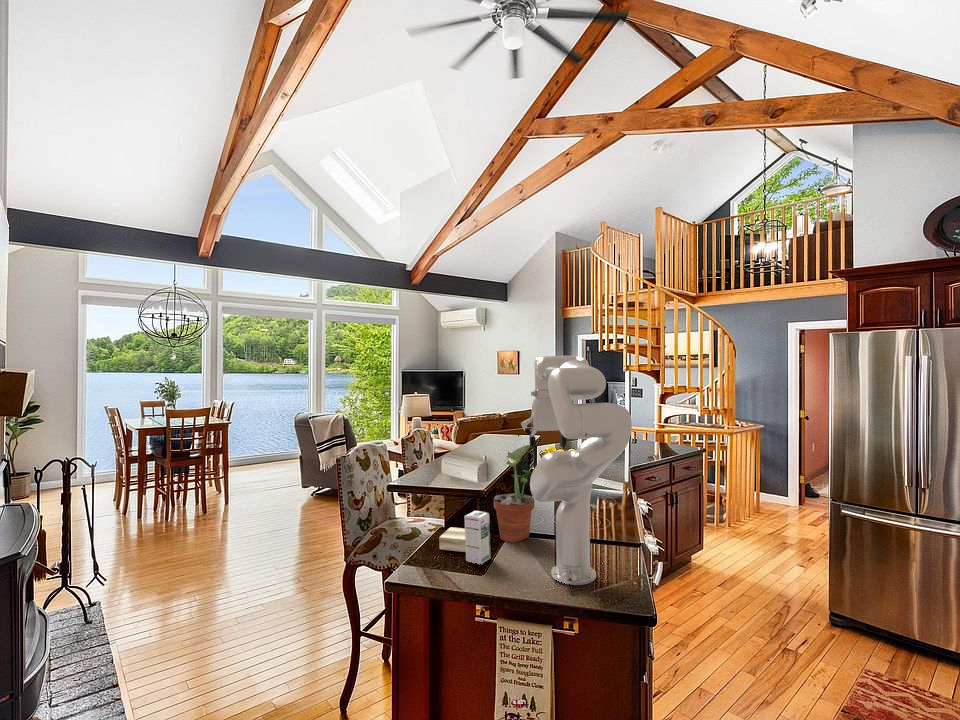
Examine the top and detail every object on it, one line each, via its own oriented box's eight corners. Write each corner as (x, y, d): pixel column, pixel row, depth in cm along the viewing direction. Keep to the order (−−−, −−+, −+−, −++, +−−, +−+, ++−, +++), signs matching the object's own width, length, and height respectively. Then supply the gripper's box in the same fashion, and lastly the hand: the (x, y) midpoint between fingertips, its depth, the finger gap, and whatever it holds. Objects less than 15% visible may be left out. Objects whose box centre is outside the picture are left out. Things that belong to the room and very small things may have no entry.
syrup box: (481, 565, 158) (480, 517, 158) (465, 561, 161) (464, 514, 161) (491, 558, 163) (490, 512, 163) (475, 555, 166) (474, 509, 166)
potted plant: (545, 534, 182) (543, 435, 182) (518, 547, 171) (516, 441, 171) (511, 525, 193) (509, 431, 192) (483, 536, 182) (481, 437, 181)
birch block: (468, 552, 168) (467, 540, 168) (439, 549, 172) (439, 537, 171) (477, 541, 178) (477, 529, 178) (450, 538, 181) (450, 527, 181)
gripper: (523, 396, 163) (524, 451, 163) (576, 394, 165) (577, 448, 166) (518, 394, 170) (519, 447, 171) (569, 393, 173) (570, 444, 173)
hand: (548, 447), depth 168 cm, fingers open, 9 cm apart
